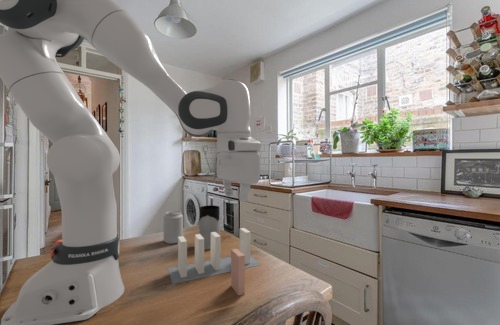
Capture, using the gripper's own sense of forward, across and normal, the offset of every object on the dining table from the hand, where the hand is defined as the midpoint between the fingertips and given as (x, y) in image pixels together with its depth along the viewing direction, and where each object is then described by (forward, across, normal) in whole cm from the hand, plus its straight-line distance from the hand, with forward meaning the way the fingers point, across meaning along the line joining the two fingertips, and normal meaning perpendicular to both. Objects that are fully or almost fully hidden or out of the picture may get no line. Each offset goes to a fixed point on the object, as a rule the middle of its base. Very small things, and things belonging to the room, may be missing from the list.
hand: (235, 198), depth 63 cm
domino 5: (+23, -13, +8) cm, 28 cm away
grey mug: (+24, -34, +3) cm, 42 cm away
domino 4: (+23, +2, -1) cm, 23 cm away
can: (+23, -44, -10) cm, 50 cm away
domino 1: (+23, -14, -12) cm, 29 cm away
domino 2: (+23, -13, -7) cm, 27 cm away
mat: (+23, -13, -2) cm, 27 cm away
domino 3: (+23, -13, -2) cm, 27 cm away
